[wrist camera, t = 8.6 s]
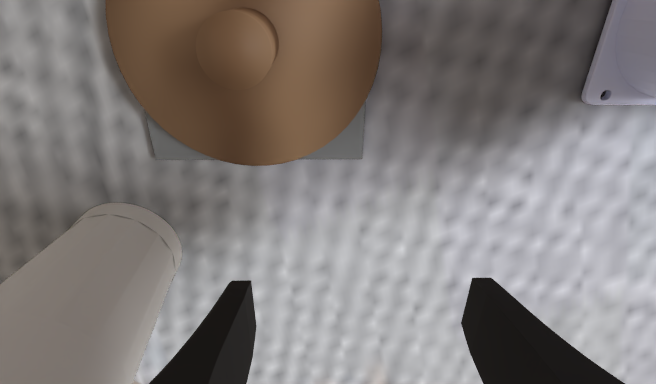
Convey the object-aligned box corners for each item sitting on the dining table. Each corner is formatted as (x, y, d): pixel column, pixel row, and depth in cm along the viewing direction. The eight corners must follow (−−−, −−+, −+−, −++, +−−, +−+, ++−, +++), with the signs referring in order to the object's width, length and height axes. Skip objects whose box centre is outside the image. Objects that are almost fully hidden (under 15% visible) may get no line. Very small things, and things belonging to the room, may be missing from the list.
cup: (31, 210, 22) (-241, 420, 11) (156, 173, 21) (-10, 364, 10) (107, 306, 25) (-42, 533, 15) (216, 279, 24) (140, 499, 14)
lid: (397, -114, 15) (420, -144, 11) (365, 165, 20) (374, 198, 17) (82, -140, 14) (12, -178, 11) (140, 155, 20) (105, 188, 17)
